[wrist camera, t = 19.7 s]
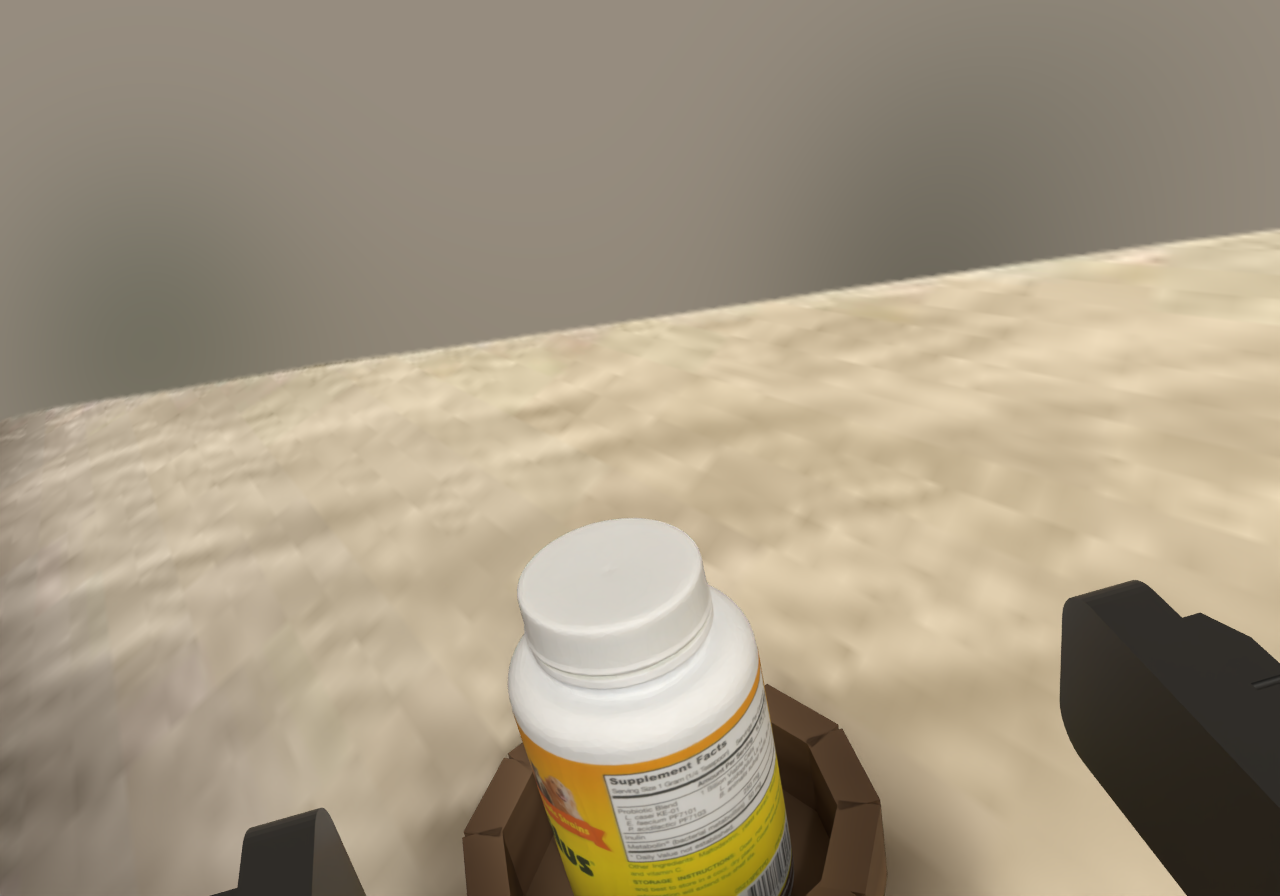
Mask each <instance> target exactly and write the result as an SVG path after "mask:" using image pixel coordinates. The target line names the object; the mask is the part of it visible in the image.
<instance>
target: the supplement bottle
mask: <svg viewBox="0 0 1280 896" xmlns="http://www.w3.org/2000/svg"><path fill="white" fill-rule="evenodd" d="M517 598H518V603H519V607H520V610H521V614H522V618H523V621H524V631H525V633H524V635H523V636H522V638H521V639H520V641H519V643H518V645H517V647H516V649H515V651H514V654H513V656H512V659H511V663H510V666H509V673H508V693H509V699H510V702H511V706H512V711H513V714H514V717H515V720H516V723H517V726H518V729H519V732H520V735H521V738H522V741H523V744H524V747H525V750H526V753H527V756H528V759H529V762H530V765H531V768H532V771H533V774H534V777H535V780H536V783H537V787H538V789H539V792H540V795H541V798H542V801H543V804H544V807H545V810H546V813H547V816H548V819H549V823H550V825H551V828H552V831H553V834H554V837H555V840H556V844H557V847H558V850H559V853H560V856H561V859H562V862H563V865H564V868H565V871H566V874H567V877H568V880H569V883H570V885H571V888H572V891H573V894H574V896H791V892H792V887H793V880H794V861H793V853H792V844H791V839H790V833H789V827H788V821H787V815H786V809H785V803H784V797H783V791H782V785H781V779H780V773H779V767H778V761H777V755H776V750H775V744H774V738H773V732H772V725H771V720H770V714H769V708H768V703H767V697H766V692H765V686H764V681H763V675H762V669H761V664H760V658H759V652H758V647H757V645H756V641H755V636H754V633H753V630H752V628H751V625H750V623H749V621H748V619H747V617H746V616H745V614H744V613H743V612H742V610H741V609H740V608H739V607H738V605H737V604H736V603H735V602H734V601H733V600H732V599H731V598H729V597H728V596H727V595H726V594H724V593H723V592H721V591H720V590H718V589H716V588H714V587H712V586H710V585H708V582H707V580H706V576H705V572H704V567H703V561H702V557H701V554H700V551H699V548H698V547H697V545H696V543H695V542H694V541H693V540H692V539H691V538H690V536H689V535H688V534H686V533H685V532H684V531H682V530H680V529H679V528H677V527H675V526H672V525H670V524H667V523H664V522H661V521H657V520H651V519H645V518H621V519H612V520H606V521H601V522H596V523H592V524H589V525H586V526H583V527H580V528H578V529H575V530H573V531H570V532H568V533H566V534H564V535H562V536H560V537H559V538H557V539H555V540H554V541H552V542H550V543H549V544H548V545H546V546H545V547H544V548H542V549H541V550H540V551H539V552H538V553H537V554H536V555H535V556H534V557H533V558H532V559H531V560H530V561H529V563H528V564H527V565H526V567H525V568H524V570H523V572H522V574H521V576H520V578H519V582H518V588H517Z"/></svg>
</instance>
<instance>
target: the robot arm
mask: <svg viewBox="0 0 1280 896" xmlns="http://www.w3.org/2000/svg"><path fill="white" fill-rule="evenodd" d="M1060 709H1061V714H1062V719H1063V722H1064V726H1065V729H1066V731H1067V734H1068V736H1069V739H1070V741H1071V743H1072V745H1073V747H1074V749H1075V750H1076V752H1077V754H1078V755H1079V757H1080V758H1081V760H1082V761H1083V762H1084V764H1085V765H1086V766H1087V768H1088V769H1089V770H1090V771H1091V773H1092V774H1093V775H1094V777H1095V778H1096V779H1097V780H1098V782H1099V783H1100V784H1101V786H1102V787H1103V788H1104V789H1105V791H1106V792H1107V793H1108V795H1109V796H1110V797H1111V798H1112V800H1113V801H1114V802H1115V804H1116V805H1117V806H1118V807H1119V809H1120V810H1121V811H1122V813H1123V814H1124V815H1125V816H1126V818H1127V819H1128V820H1129V822H1130V823H1131V824H1132V825H1133V827H1134V828H1135V829H1136V831H1137V832H1138V833H1139V835H1140V836H1141V837H1142V838H1143V840H1144V841H1145V842H1146V844H1147V845H1148V846H1149V847H1150V849H1151V850H1152V851H1153V853H1154V854H1155V855H1156V856H1157V858H1158V859H1159V860H1160V862H1161V863H1162V864H1163V865H1164V867H1165V868H1166V869H1167V871H1168V872H1169V873H1170V874H1171V876H1172V877H1173V878H1174V880H1175V881H1176V882H1177V883H1178V885H1179V886H1180V887H1181V889H1182V890H1183V891H1184V893H1185V894H1186V895H1187V896H1280V663H1279V662H1278V661H1277V660H1276V659H1274V658H1273V657H1272V656H1271V655H1270V654H1269V653H1268V652H1267V651H1266V650H1264V649H1263V648H1262V647H1261V646H1260V645H1259V644H1258V643H1257V642H1256V641H1254V640H1253V639H1252V638H1251V637H1249V636H1247V635H1245V634H1243V633H1241V632H1239V631H1237V630H1235V629H1233V628H1231V627H1229V626H1227V625H1225V624H1223V623H1220V622H1218V621H1216V620H1214V619H1212V618H1210V617H1208V616H1206V615H1204V614H1202V613H1197V614H1194V615H1190V616H1187V617H1183V618H1182V617H1181V616H1180V615H1179V614H1178V613H1177V612H1176V611H1174V610H1173V609H1172V608H1171V607H1170V606H1169V605H1168V604H1167V603H1166V602H1165V601H1164V600H1163V599H1162V598H1161V597H1160V596H1159V595H1158V594H1157V593H1156V592H1155V591H1154V590H1153V589H1151V588H1150V587H1149V586H1148V585H1146V584H1145V583H1143V582H1141V581H1138V580H1132V581H1128V582H1125V583H1121V584H1118V585H1114V586H1111V587H1107V588H1104V589H1100V590H1096V591H1093V592H1089V593H1086V594H1082V595H1079V596H1075V597H1072V598H1069V599H1068V600H1067V601H1066V603H1065V604H1064V608H1063V614H1062V642H1061V674H1060ZM211 896H366V894H365V892H364V890H363V888H362V885H361V883H360V881H359V879H358V876H357V874H356V872H355V870H354V868H353V865H352V863H351V861H350V859H349V856H348V854H347V852H346V850H345V847H344V845H343V843H342V841H341V839H340V836H339V834H338V832H337V830H336V827H335V825H334V823H333V821H332V819H331V817H330V815H329V813H328V812H327V811H326V810H325V809H324V808H319V809H315V810H312V811H308V812H305V813H301V814H298V815H294V816H291V817H287V818H284V819H280V820H277V821H273V822H270V823H266V824H262V825H259V826H255V827H252V828H249V829H248V830H247V832H246V834H245V837H244V841H243V847H242V855H241V863H240V872H239V880H238V888H235V889H232V890H228V891H225V892H221V893H218V894H214V895H211Z"/></svg>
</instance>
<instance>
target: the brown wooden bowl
mask: <svg viewBox="0 0 1280 896" xmlns="http://www.w3.org/2000/svg"><path fill="white" fill-rule="evenodd" d="M765 692H766V697H767V703H768V708H769V714H770V720H771V725H772V732H773V738H774V744H775V750H776V755H777V761H778V767H779V773H780V779H781V785H782V791H783V797H784V803H785V809H786V815H787V821H788V827H789V833H790V839H791V844H792V853H793V861H794V880H793V887H792V892H791V896H884V893H885V887H886V881H887V866H886V855H885V845H884V834H883V824H882V813H881V805H880V799H879V797H878V795H877V793H876V791H875V789H874V788H873V786H872V784H871V782H870V780H869V778H868V776H867V774H866V772H865V771H864V769H863V767H862V765H861V763H860V761H859V759H858V757H857V756H856V754H855V752H854V750H853V748H852V746H851V744H850V742H849V740H848V739H847V737H846V735H845V733H844V731H843V729H839V727H838V724H836V723H835V722H833V721H831V720H829V719H828V718H826V717H824V716H822V715H821V714H819V713H817V712H815V711H814V710H812V709H810V708H808V707H807V706H805V705H803V704H801V703H800V702H798V701H796V700H794V699H793V698H791V697H789V696H787V695H786V694H784V693H782V692H780V691H779V690H777V689H775V688H773V687H772V686H770V685H768V684H766V685H765ZM508 756H509V759H508V758H504V759H503V761H502V762H501V764H500V766H499V768H498V770H497V772H496V773H495V775H494V777H493V779H492V781H491V783H490V784H489V786H488V788H487V790H486V792H485V794H484V796H483V797H482V799H481V801H480V803H479V805H478V807H477V808H476V810H475V812H474V814H473V816H472V818H471V819H470V821H469V823H468V825H467V827H466V829H465V831H464V834H465V837H463V838H462V839H463V851H464V863H465V874H466V886H467V896H574V894H573V891H572V888H571V885H570V883H569V880H568V877H567V874H566V871H565V868H564V865H563V862H562V859H561V856H560V853H559V850H558V847H557V844H556V840H555V837H554V834H553V831H552V828H551V825H550V823H549V819H548V816H547V813H546V810H545V807H544V804H543V801H542V798H541V795H540V792H539V789H538V787H537V783H536V780H535V777H534V774H533V771H532V768H531V765H530V762H529V759H528V756H527V753H526V750H525V747H524V744H523V743H522V744H520V745H519V746H517V747H516V748H515V749H513V750H512V751H511V752H509V753H508Z"/></svg>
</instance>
